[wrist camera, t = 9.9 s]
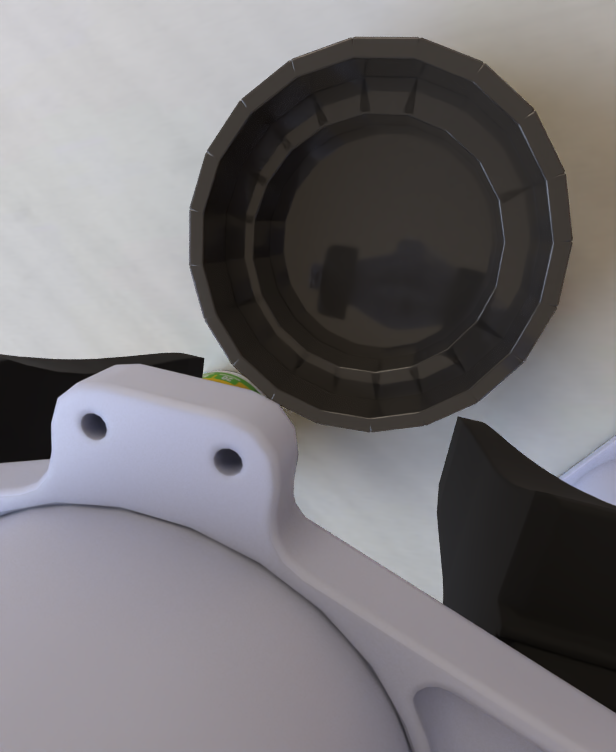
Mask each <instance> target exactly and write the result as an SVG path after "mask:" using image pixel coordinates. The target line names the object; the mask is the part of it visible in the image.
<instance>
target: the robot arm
mask: <svg viewBox="0 0 616 752" xmlns="http://www.w3.org/2000/svg"><path fill="white" fill-rule="evenodd" d="M203 366H204V358H201V357H197V356H193V355H188V354H183V353H158V354H148V355H138V356H128V357H115V358H102V359H45V358H31V357H18V356H9V355H2V354H0V752H616V435H615V436H614V437H613V438H611V439H610V440H609V441H607V442H606V443H605V444H603V445H602V446H601V447H599V448H598V449H597V450H595V451H594V452H592V453H591V454H590V455H588V456H587V457H586V458H584V459H583V460H582V461H580V462H579V463H578V464H576V465H575V466H574V467H572V468H571V469H570V470H568V471H567V472H566V473H564V474H563V475H561V476H560V477H559V478H557V477H556V476H554V475H552V474H551V473H549V472H547V471H546V470H544V469H543V468H541V467H540V466H538V465H537V464H536V463H534V462H533V461H531V460H530V459H529V458H527V457H526V456H525V455H523V454H522V453H521V452H520V451H518V450H517V449H516V448H515V447H513V446H512V445H511V444H510V443H508V442H507V441H506V440H505V439H504V438H503V437H501V436H500V435H499V434H498V433H497V432H495V431H494V430H493V429H492V428H490V427H489V426H488V425H486V424H485V423H483V422H479V421H475V420H470V419H466V418H462V417H458V418H457V422H456V425H455V429H454V433H453V436H452V440H451V443H450V447H449V450H448V454H447V457H446V461H445V465H444V468H443V472H442V475H441V479H440V482H439V491H438V505H437V519H438V531H439V542H440V553H441V564H442V574H443V604H442V603H440V602H439V601H437V600H436V599H434V598H433V597H431V596H429V595H428V594H426V593H425V592H423V591H421V590H420V589H418V588H417V587H415V586H414V585H412V584H410V583H409V582H407V581H406V580H404V579H402V578H401V577H399V576H398V575H396V574H395V573H393V572H391V571H390V570H388V569H387V568H385V567H383V566H382V565H380V564H379V563H377V562H376V561H374V560H372V559H371V558H369V557H368V556H366V555H365V554H363V553H361V552H360V551H358V550H357V549H355V548H353V547H352V546H350V545H349V544H347V543H346V542H344V541H342V540H341V539H339V538H338V537H336V536H334V535H333V534H331V533H330V532H328V531H327V530H325V529H323V528H322V527H320V526H319V525H317V524H316V523H314V522H312V521H311V520H309V519H308V518H306V517H305V516H304V514H303V513H302V512H301V510H300V509H299V507H298V506H297V504H296V502H295V498H294V494H293V491H294V477H295V471H296V465H297V459H298V447H297V438H296V430H295V426H294V425H293V424H292V422H291V421H290V419H289V418H288V417H287V415H286V414H285V412H284V411H283V410H282V408H281V407H280V405H279V404H278V403H276V402H274V401H272V400H270V399H268V398H266V397H264V396H262V395H260V394H258V393H256V392H254V391H252V390H248V389H244V388H240V387H236V386H231V385H227V384H223V383H219V382H215V381H210V380H206V379H202V377H203Z"/></svg>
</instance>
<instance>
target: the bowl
mask: <svg viewBox="0 0 616 752" xmlns="http://www.w3.org/2000/svg"><path fill="white" fill-rule="evenodd" d="M572 239H573V237H572V228H571V218H570V208H569V199H568V189H567V180H566V174H565V170H564V168H563V166H562V164H561V162H560V160H559V158H558V156H557V154H556V152H555V150H554V147H553V145H552V143H551V141H550V139H549V137H548V135H547V133H546V131H545V129H544V127H543V125H542V123H541V121H540V119H539V117H538V115H537V113H536V112H535V111H534V108H533V107H532V106H531V105H530V104H528V103H527V102H526V101H525V100H524V99H523V98H522V97H521V96H520V95H519V94H518V93H517V92H516V91H515V90H513V89H512V88H511V87H510V86H509V85H508V84H507V83H506V82H505V81H504V80H503V79H502V78H501V77H499V76H498V75H497V74H496V73H495V72H494V71H493V70H492V69H491V68H490V67H489V66H488V65H487V64H485V63H484V64H483V62H482V61H480V60H477V59H475V58H472V57H470V56H467V55H465V54H462V53H460V52H457V51H455V50H452V49H450V48H447V47H444V46H442V45H439V44H437V43H434V42H432V41H429V40H427V39H424V38H419V37H353V38H348V39H345V40H343V41H340V42H337V43H334V44H332V45H329V46H326V47H323V48H321V49H318V50H315V51H312V52H310V53H307V54H304V55H301V56H298V57H296V58H293V59H292V60H290V61H288V62H287V63H286V64H284V65H283V66H282V67H281V68H279V69H278V70H277V71H276V72H274V73H273V74H272V75H271V76H269V77H268V78H267V79H266V80H264V81H263V82H262V83H261V84H260V85H258V86H257V87H256V88H255V89H253V90H252V91H251V92H250V93H248V94H247V95H246V96H245V97H243V98H242V101H239V103H238V104H237V106H236V107H235V109H234V110H233V112H232V113H231V115H230V116H229V118H228V119H227V121H226V122H225V124H224V126H223V127H222V129H221V130H220V132H219V133H218V135H217V136H216V138H215V139H214V141H213V142H212V144H211V145H210V147H209V148H208V150H207V152H206V154H205V157H204V161H203V164H202V168H201V171H200V174H199V178H198V181H197V185H196V188H195V191H194V195H193V198H192V202H191V205H190V211H189V265H190V271H191V275H192V278H193V282H194V285H195V289H196V292H197V296H198V300H199V303H200V307H201V310H202V314H203V317H204V319H205V322H206V323H207V325H208V327H209V328H210V330H211V332H212V333H213V335H214V336H215V338H216V340H217V341H218V343H219V345H220V346H221V348H222V349H223V351H224V353H225V354H226V356H227V358H228V359H229V361H230V362H231V364H233V366H234V367H235V368H236V369H237V370H238V371H239V372H241V373H242V374H243V375H244V376H245V377H246V378H247V379H248V380H249V381H250V382H251V383H253V384H254V385H255V386H256V387H257V388H258V389H259V390H260V391H261V392H262V393H263V394H265V395H266V396H267V397H268V398H269V399H271V400H272V401H274V402H276V403H278V404H279V405H281V406H283V407H285V408H287V409H289V410H291V411H293V412H295V413H297V414H299V415H301V416H303V417H305V418H307V419H309V420H311V421H313V422H315V423H319V424H323V425H329V426H335V427H341V428H347V429H352V430H358V431H364V432H370V431H371V432H378V431H386V430H394V429H403V428H411V427H419V426H424V425H428V424H431V423H433V422H435V421H437V420H440V419H442V418H444V417H446V416H449V415H451V414H453V413H455V412H458V411H460V410H462V409H464V408H467V407H469V406H471V405H473V404H476V403H477V402H478V401H480V400H481V399H483V398H484V397H485V396H486V395H487V394H488V393H489V392H491V391H492V390H493V389H494V388H495V387H496V386H497V385H499V384H500V383H501V382H502V381H503V380H504V379H505V378H507V377H508V376H509V375H510V374H511V373H512V372H513V371H515V370H516V369H517V368H518V367H519V366H520V365H521V364H523V361H525V360H526V358H527V357H528V355H529V353H530V352H531V350H532V349H533V347H534V345H535V344H536V342H537V340H538V339H539V337H540V335H541V334H542V332H543V330H544V329H545V327H546V325H547V324H548V322H549V320H550V319H551V317H552V316H553V314H554V312H555V311H556V309H557V307H556V306H558V304H559V299H560V295H561V291H562V286H563V282H564V278H565V273H566V269H567V265H568V260H569V256H570V252H571V248H572V242H571V241H572Z"/></svg>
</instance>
